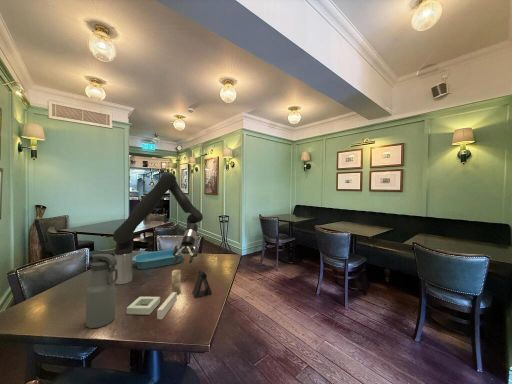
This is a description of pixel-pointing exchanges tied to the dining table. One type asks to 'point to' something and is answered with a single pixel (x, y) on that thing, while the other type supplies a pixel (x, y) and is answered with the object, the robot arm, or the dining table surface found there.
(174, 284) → the dowel
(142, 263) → the casserole dish
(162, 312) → the backstop wall
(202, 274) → the phone stand
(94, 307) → the water bottle
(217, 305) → the dining table surface
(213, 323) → the dining table surface
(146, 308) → the pale green square frame
